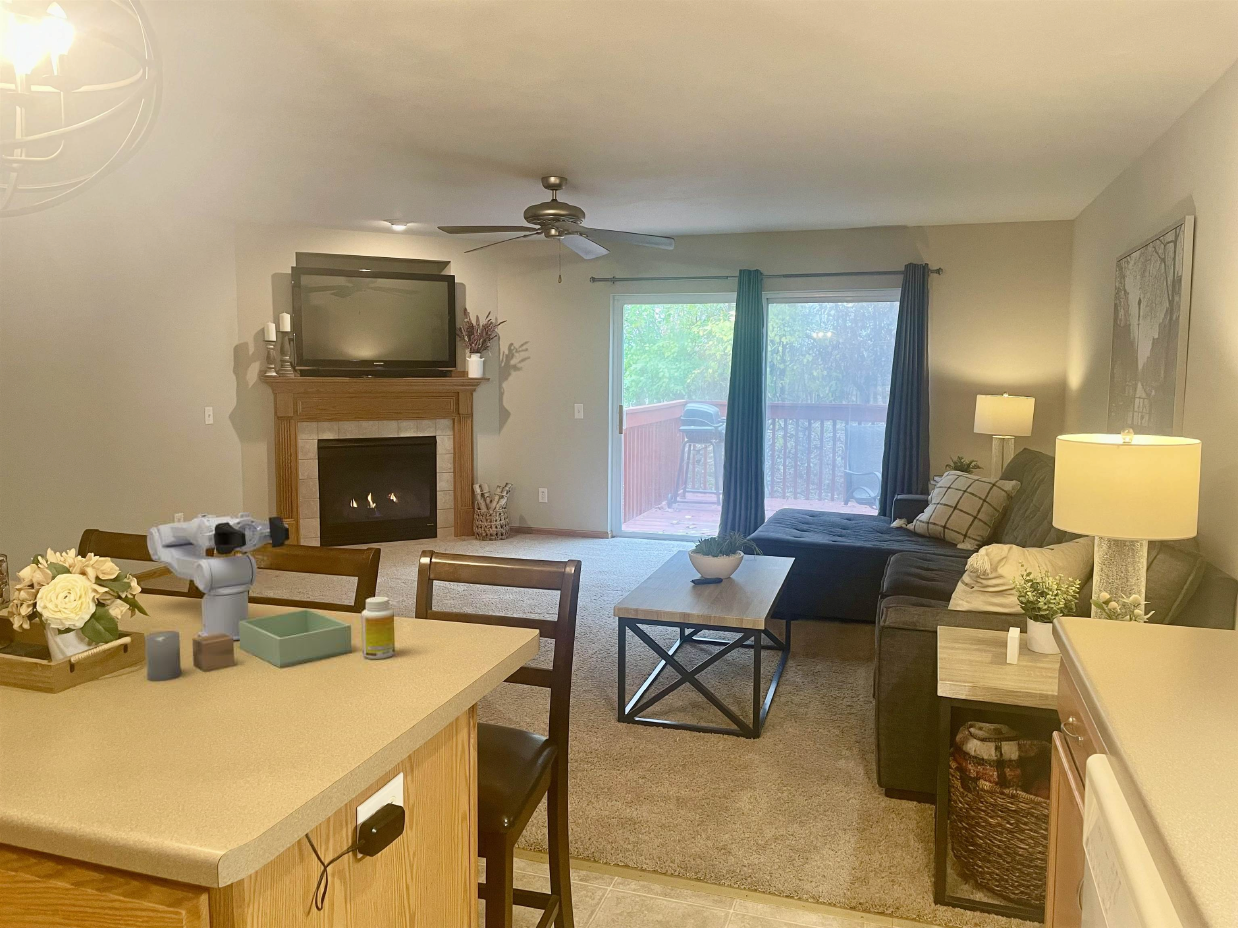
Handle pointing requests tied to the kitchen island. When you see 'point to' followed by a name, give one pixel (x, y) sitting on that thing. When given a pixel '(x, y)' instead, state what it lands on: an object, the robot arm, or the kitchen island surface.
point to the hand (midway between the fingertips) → (265, 536)
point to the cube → (213, 652)
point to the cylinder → (163, 655)
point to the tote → (295, 637)
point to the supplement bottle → (378, 629)
